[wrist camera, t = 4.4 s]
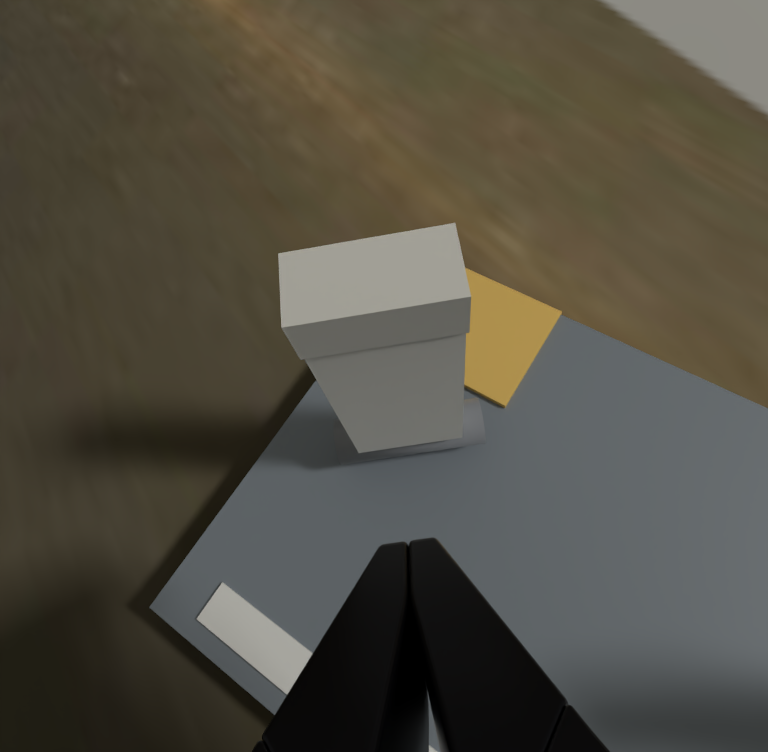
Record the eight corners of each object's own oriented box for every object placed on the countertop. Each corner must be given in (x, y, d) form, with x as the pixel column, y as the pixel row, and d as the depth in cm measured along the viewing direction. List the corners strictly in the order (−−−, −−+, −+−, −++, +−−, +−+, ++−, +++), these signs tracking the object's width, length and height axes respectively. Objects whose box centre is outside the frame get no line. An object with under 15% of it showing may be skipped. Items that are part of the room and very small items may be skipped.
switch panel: (1174, 1458, 9) (1284, 1588, 8) (168, 608, 17) (145, 607, 16) (1252, 656, 14) (1333, 660, 12) (415, 266, 22) (412, 244, 20)
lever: (484, 450, 17) (512, 290, 9) (344, 471, 17) (243, 334, 9) (475, 405, 17) (493, 216, 9) (340, 426, 18) (241, 260, 10)
